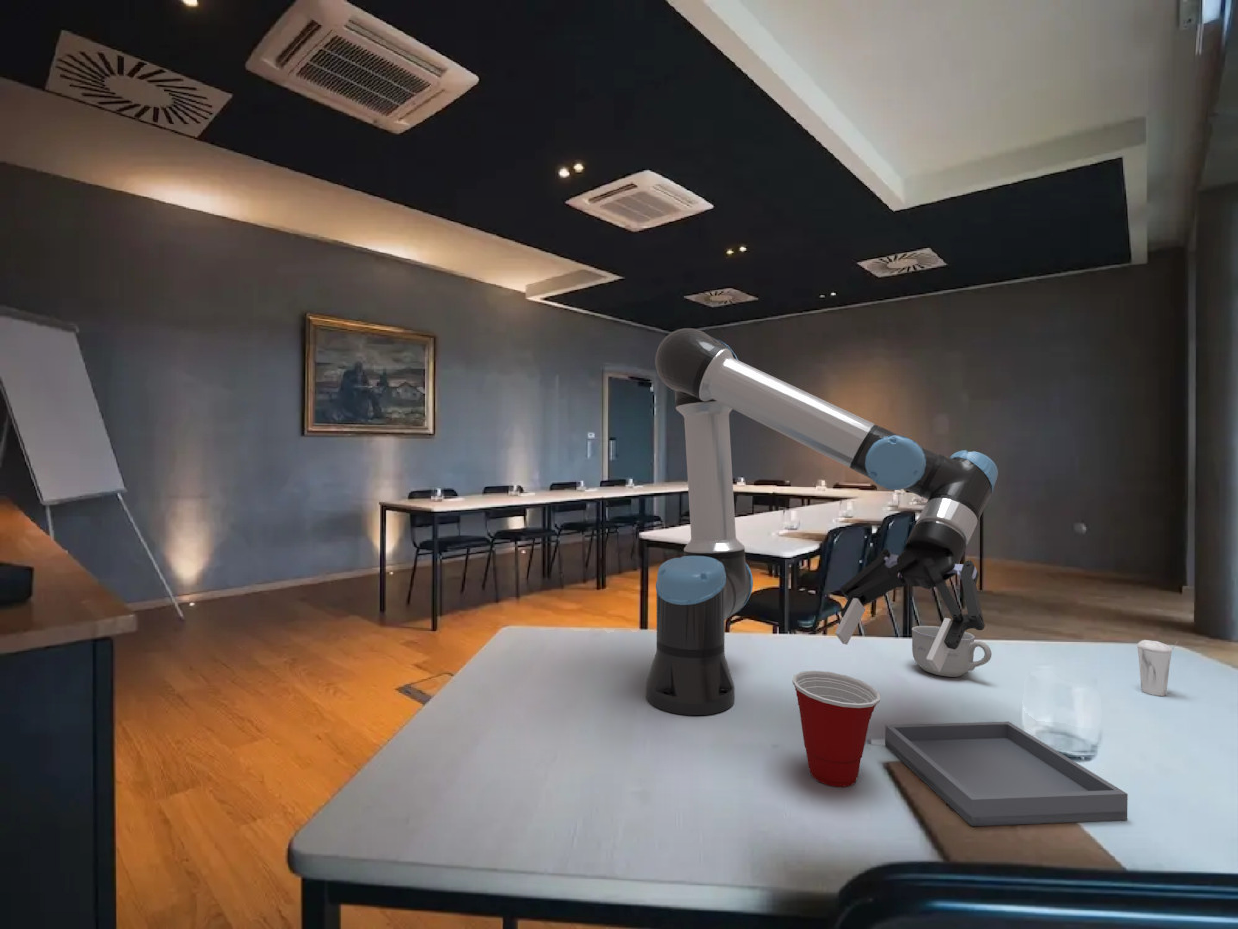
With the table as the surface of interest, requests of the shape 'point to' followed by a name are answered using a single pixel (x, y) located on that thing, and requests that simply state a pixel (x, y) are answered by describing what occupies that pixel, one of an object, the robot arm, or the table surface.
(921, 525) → the robot arm
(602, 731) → the table surface
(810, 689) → the plastic cup
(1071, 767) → the grey shallow square tray
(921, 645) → the teacup
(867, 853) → the table surface
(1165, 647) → the milkshake
